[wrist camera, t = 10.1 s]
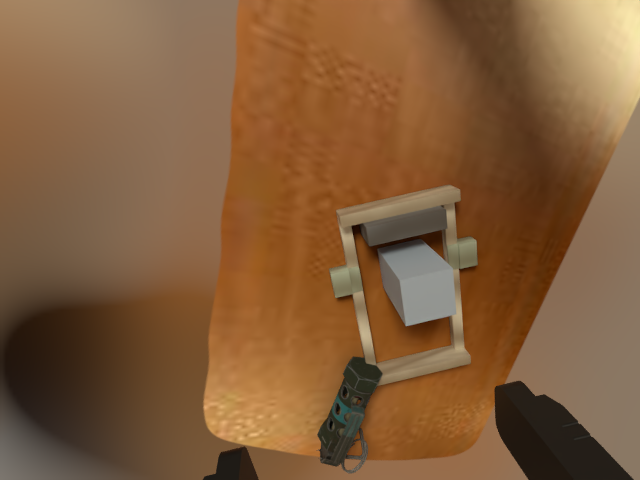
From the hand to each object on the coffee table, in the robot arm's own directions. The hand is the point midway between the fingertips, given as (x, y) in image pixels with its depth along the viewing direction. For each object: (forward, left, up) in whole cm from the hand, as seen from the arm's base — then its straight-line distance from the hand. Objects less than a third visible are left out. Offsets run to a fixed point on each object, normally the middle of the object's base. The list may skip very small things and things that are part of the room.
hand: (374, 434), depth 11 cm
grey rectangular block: (+9, +9, -28) cm, 31 cm away
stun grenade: (+27, 0, -28) cm, 39 cm away
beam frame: (+12, +9, -28) cm, 32 cm away
